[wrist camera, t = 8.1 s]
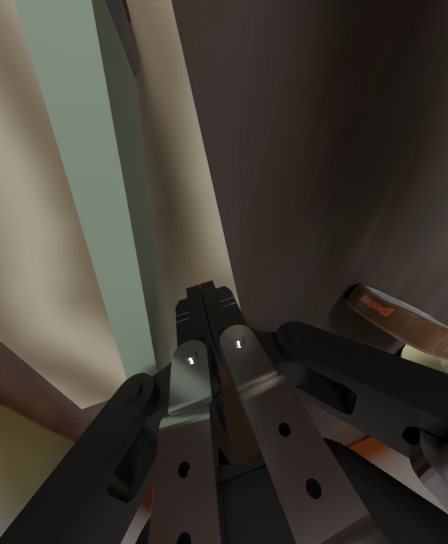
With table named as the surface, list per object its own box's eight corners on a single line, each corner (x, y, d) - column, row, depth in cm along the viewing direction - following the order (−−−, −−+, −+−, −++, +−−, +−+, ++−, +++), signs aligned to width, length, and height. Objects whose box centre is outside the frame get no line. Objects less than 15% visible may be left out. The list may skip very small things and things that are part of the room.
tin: (328, 293, 23) (403, 355, 16) (347, 269, 22) (436, 325, 15) (398, 319, 29) (474, 373, 22) (415, 302, 28) (501, 352, 21)
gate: (135, 36, 9) (45, -335, 2) (171, 350, 19) (175, 463, 12) (96, 29, 9) (-161, -443, 2) (153, 353, 19) (147, 472, 12)
